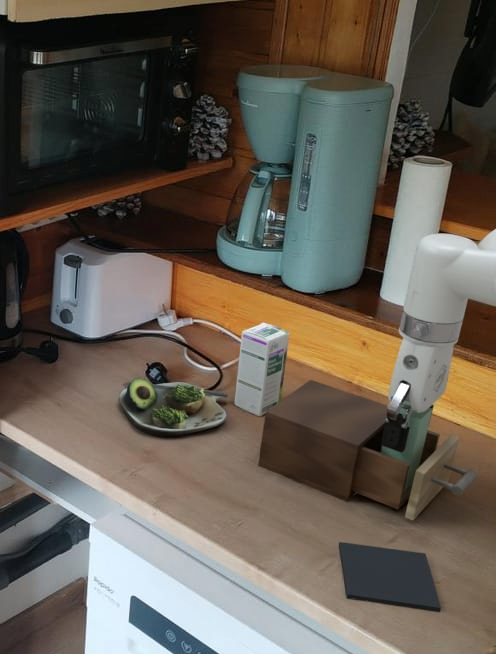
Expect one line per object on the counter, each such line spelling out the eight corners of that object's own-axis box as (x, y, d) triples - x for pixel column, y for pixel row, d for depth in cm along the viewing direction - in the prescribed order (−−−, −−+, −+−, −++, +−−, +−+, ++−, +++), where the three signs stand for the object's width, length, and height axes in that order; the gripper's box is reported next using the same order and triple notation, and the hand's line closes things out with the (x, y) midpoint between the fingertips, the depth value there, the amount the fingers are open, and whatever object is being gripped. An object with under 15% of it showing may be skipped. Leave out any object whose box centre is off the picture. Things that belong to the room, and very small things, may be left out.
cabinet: (388, 463, 142) (399, 409, 137) (347, 502, 132) (358, 445, 128) (301, 430, 151) (310, 379, 146) (257, 465, 141) (265, 411, 137)
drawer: (478, 493, 133) (490, 447, 129) (444, 533, 124) (457, 485, 120) (361, 449, 144) (369, 406, 140) (322, 483, 135) (330, 438, 131)
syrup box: (260, 417, 154) (271, 340, 148) (232, 404, 159) (241, 329, 152) (280, 407, 158) (291, 331, 151) (252, 395, 162) (262, 320, 155)
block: (415, 479, 134) (432, 408, 129) (404, 491, 131) (420, 419, 126) (386, 468, 137) (402, 398, 131) (374, 480, 134) (389, 409, 128)
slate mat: (424, 556, 121) (425, 553, 120) (440, 611, 111) (441, 607, 111) (338, 545, 123) (339, 541, 123) (346, 598, 113) (347, 594, 113)
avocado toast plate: (207, 382, 166) (210, 359, 164) (252, 430, 151) (255, 405, 149) (107, 393, 162) (108, 370, 160) (142, 443, 147) (144, 418, 145)
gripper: (434, 353, 115) (406, 470, 122) (480, 315, 126) (453, 424, 134) (376, 337, 119) (353, 450, 127) (426, 301, 131) (402, 407, 139)
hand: (404, 436), depth 130 cm, fingers open, 8 cm apart
